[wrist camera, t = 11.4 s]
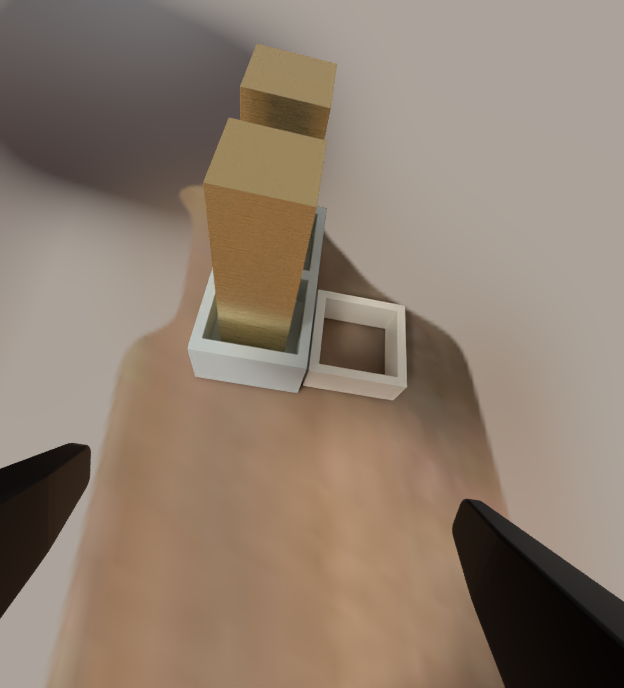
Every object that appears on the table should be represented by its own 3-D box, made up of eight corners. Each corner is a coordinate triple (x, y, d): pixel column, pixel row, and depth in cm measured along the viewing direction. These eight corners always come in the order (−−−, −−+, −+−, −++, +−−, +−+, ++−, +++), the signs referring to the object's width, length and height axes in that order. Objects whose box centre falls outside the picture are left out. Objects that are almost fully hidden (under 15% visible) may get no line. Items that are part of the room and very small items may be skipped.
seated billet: (295, 282, 27) (330, 108, 16) (241, 272, 26) (240, 86, 16) (301, 241, 29) (337, 62, 18) (251, 231, 28) (257, 42, 18)
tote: (392, 400, 25) (407, 387, 23) (302, 385, 25) (308, 370, 22) (392, 323, 28) (405, 305, 26) (312, 308, 28) (318, 289, 26)
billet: (282, 359, 24) (316, 207, 13) (221, 348, 23) (203, 182, 12) (291, 307, 26) (327, 138, 15) (235, 297, 25) (229, 115, 14)
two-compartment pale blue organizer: (297, 393, 24) (306, 368, 21) (195, 376, 24) (187, 348, 20) (317, 245, 31) (326, 208, 28) (238, 229, 30) (237, 189, 27)
